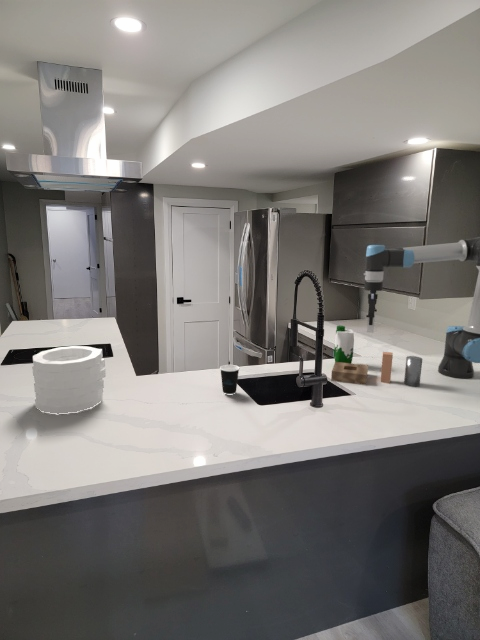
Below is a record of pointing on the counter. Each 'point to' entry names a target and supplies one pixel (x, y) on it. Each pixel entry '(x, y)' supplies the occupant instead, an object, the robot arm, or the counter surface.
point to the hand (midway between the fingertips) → (370, 329)
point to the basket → (68, 378)
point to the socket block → (349, 373)
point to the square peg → (386, 367)
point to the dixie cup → (229, 378)
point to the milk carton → (344, 345)
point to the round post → (413, 371)
